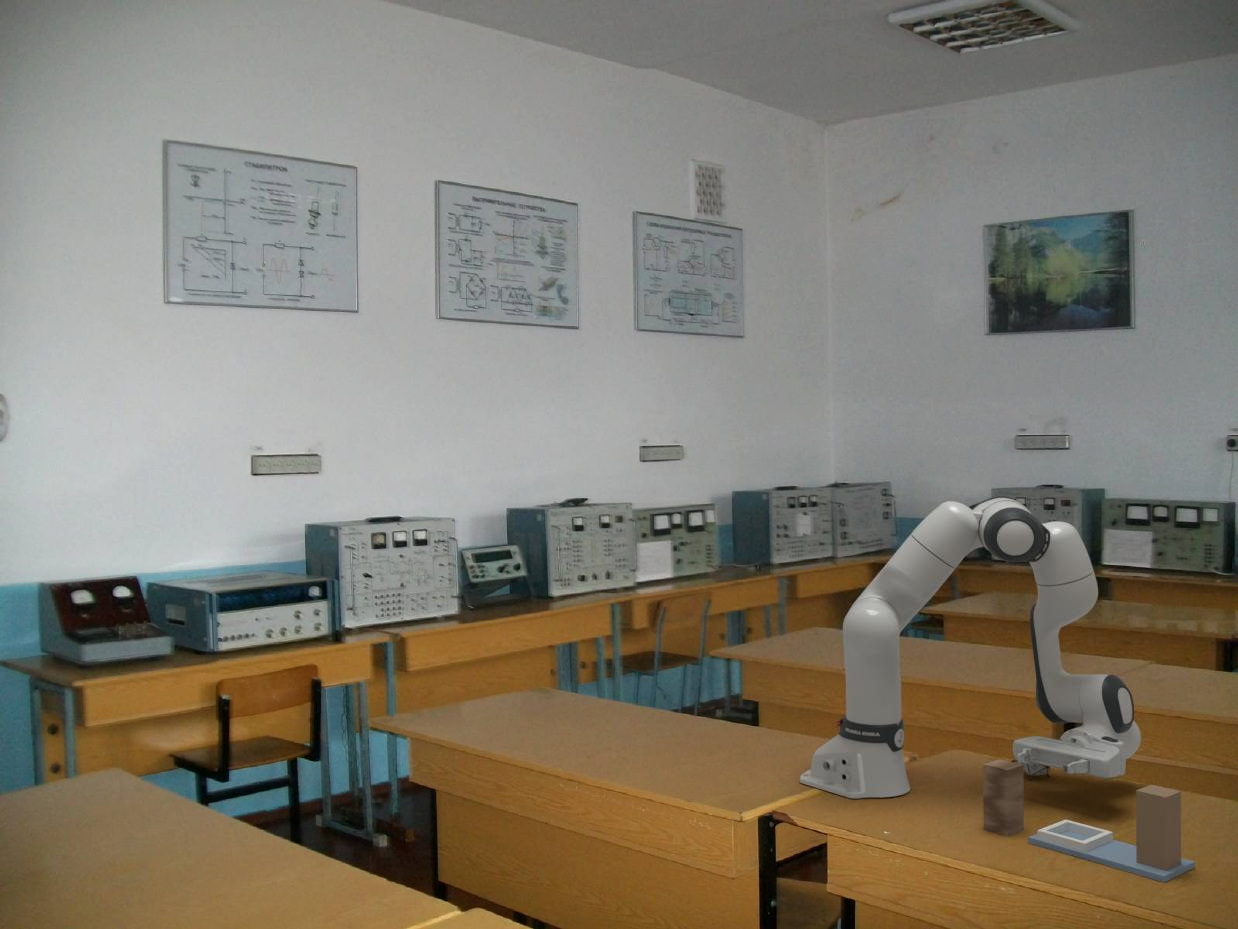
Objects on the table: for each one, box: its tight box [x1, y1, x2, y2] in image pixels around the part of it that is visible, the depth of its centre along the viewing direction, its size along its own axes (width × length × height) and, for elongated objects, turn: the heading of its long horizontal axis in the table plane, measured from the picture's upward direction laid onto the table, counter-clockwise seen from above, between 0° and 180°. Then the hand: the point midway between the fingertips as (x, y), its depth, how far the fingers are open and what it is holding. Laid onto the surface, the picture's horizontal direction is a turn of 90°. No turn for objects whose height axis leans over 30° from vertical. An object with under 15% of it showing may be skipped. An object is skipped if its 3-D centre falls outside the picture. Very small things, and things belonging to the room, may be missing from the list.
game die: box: [1010, 758, 1052, 780], centre depth 250 cm, size 9×8×10 cm
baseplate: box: [1027, 784, 1196, 883], centre depth 204 cm, size 24×10×13 cm, turn 38°
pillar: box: [982, 758, 1025, 837], centre depth 217 cm, size 5×5×12 cm
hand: (1043, 764), depth 224 cm, fingers open, 8 cm apart
